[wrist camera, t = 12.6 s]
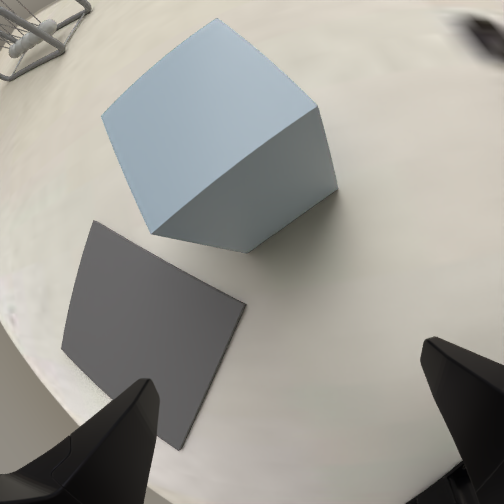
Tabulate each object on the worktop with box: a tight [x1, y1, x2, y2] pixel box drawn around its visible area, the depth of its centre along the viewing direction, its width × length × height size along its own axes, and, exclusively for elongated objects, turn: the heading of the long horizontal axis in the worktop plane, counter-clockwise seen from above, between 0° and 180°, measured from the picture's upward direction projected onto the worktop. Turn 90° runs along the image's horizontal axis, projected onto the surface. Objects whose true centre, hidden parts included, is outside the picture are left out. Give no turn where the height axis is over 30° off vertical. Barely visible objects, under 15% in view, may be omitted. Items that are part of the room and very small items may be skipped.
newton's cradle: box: [0, 0, 91, 81], centre depth 29 cm, size 30×10×18 cm, turn 74°
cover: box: [101, 18, 338, 253], centre depth 15 cm, size 7×7×10 cm
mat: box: [61, 220, 246, 451], centre depth 22 cm, size 16×14×1 cm
